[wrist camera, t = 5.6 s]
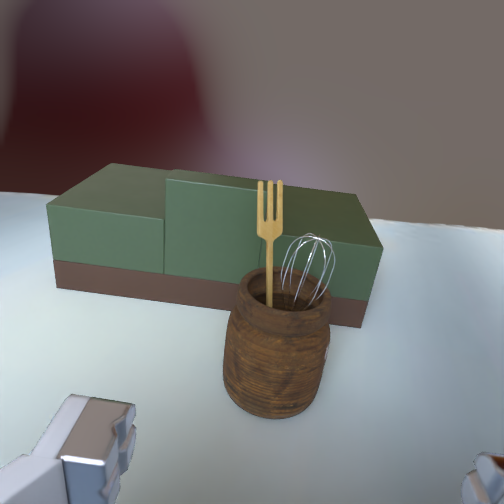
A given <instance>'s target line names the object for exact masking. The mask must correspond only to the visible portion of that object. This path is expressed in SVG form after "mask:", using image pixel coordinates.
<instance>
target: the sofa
mask: <svg viewBox="0 0 504 504" xmlns="http://www.w3.org/2000/svg"><path fill="white" fill-rule="evenodd" d="M258 181H262V182H263V218H264V221H266V220H267V186H268V181H264V180H257V179H249V178H241V177H233V176H225V175H217V174H210V173H201V172H194V171H186V170H178V169H174V170H173V171H169V170H160V169H153V168H145V167H137V166H130V165H122V164H113V163H111V164H110V165H108V166H106V167H105V168H103V169H101V170H100V171H98V172H97V173H95V174H94V175H92V176H90V177H89V178H87V179H86V180H84V181H82V182H81V183H79V184H78V185H76V186H75V187H73V188H71V189H70V190H68V191H67V192H65V193H63V194H62V195H60V196H58V197H57V198H55V199H54V200H52V201H51V202H49V203H47V204H46V207H47V215H48V223H49V230H50V238H51V246H52V254H53V259H54V260H53V263H54V271H55V279H56V286H57V288H63V289H70V290H78V291H85V292H93V293H100V294H108V295H115V296H123V297H130V298H138V299H145V300H153V301H160V302H168V303H175V304H183V305H191V306H198V307H206V308H213V309H221V310H228V311H232V309H233V308H234V306H235V305H236V294H237V290H238V287H239V284H240V282H241V280H242V278H243V277H244V276H245V275H246V274H247V273H249V272H250V271H252V270H255V269H258V268H262V267H266V240H264V239H263V238H261V237H259V236H258V235H257V190H258ZM276 210H277V184H273V220H274V221H275V220H276ZM308 233H312V234H314V235H315V236H317V237H318V236H319V235H320V238H326V239H328V240H329V241H330V243H331V245H332V250H333V252H334V255H335V265H334V255H333V252H332V253H331V248H330V247H331V245H330V243H329V241H327V240H325V239H322V240H323V241H325V242H326V243H328V244H329V245H330V247H329V246H328V245H327V244H326V243H325V242H323V241H321V240H320V241H321V243H322V245H323V247H324V251H325V258H326V264H325V258H324V251H323V248H322V245H321V243H320V242H318V240H317V239H314V238H313V237H315V236H314V235H312V234H308ZM306 234H308V235H306ZM304 235H306V236H313V237H304V238H303V239H302V238H300V237H303V236H304ZM297 238H300V239H298V240H296V239H297ZM301 239H302V241H301ZM311 239H314V240H311ZM295 240H296V241H295ZM308 240H311V241H308ZM316 240H317V242H318V245H317V242H316ZM293 241H295V242H294V243H293V244H292V242H293ZM300 241H301V243H300ZM306 241H308V242H306ZM305 242H306V243H305ZM315 242H316V244H315ZM299 243H300V245H299ZM303 243H305V244H303ZM291 244H292V245H291ZM302 244H303V245H302ZM314 244H315V247H314ZM290 245H291V247H290V249H289V246H290ZM298 245H299V246H301V245H302V246H301V247H300V248H299V249H298V251H297V254H296V252H295V251H296V250H297V248H298ZM316 245H317V248H316ZM313 247H314V249H313ZM315 248H316V250H315ZM288 249H289V251H288ZM312 249H313V252H312ZM287 251H288V254H287ZM314 251H315V253H314ZM294 252H295V254H296V257H295V254H294V255H293V253H294ZM311 252H312V254H311ZM382 252H383V246H382V244H381V242H380V240H379V238H378V236H377V235H376V233H375V231H374V229H373V227H372V225H371V223H370V221H369V219H368V217H367V215H366V213H365V211H364V209H363V208H362V206H361V204H360V202H359V200H358V198H357V196H356V194H349V193H341V192H333V191H324V190H318V189H310V188H302V187H294V186H286V185H283V232H282V234H281V235H280V236H279V237H277V238H276V239H275V240H274V242H273V266H279V267H282V266H283V263H284V260H285V257H286V254H287V257H286V260H285V263H284V266H283V267H288V264H289V261H290V259H291V257H292V255H293V257H292V259H291V262H290V264H289V267H288V268H292V264H293V260H294V257H295V260H294V264H293V269H297V270H301V271H304V270H305V267H306V265H307V262H308V259H309V257H310V254H311V257H310V259H309V262H308V265H307V268H306V270H305V272H306V273H307V270H308V268H309V270H308V273H309V274H311V275H313V276H314V277H316V278H318V279H319V280H320V279H321V277H322V274H323V270H324V264H325V268H326V266H327V268H326V271H325V273H324V275H323V278H322V280H321V281H322V282H323V283H324V284H325V285H327V283H328V280H329V277H330V275H331V272H332V269H333V265H334V269H333V272H332V275H331V277H330V280H329V283H328V285H327V288H328V289H329V291H330V293H331V314H330V317H329V320H328V323H329V324H333V325H341V326H348V327H356V328H361V325H362V321H363V318H364V315H365V311H366V308H367V304H368V300H369V297H370V293H371V290H372V286H373V283H374V279H375V276H376V273H377V269H378V266H379V262H380V259H381V255H382ZM313 253H314V256H313ZM330 253H331V257H330ZM312 256H313V259H312ZM329 257H330V260H329ZM311 259H312V262H311ZM328 260H329V263H328ZM310 262H311V265H310ZM327 263H328V265H327ZM309 265H310V267H309Z"/></svg>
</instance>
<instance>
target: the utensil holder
mask: <svg viewBox="0 0 504 504" xmlns="http://www.w3.org/2000/svg"><path fill="white" fill-rule="evenodd" d="M282 232H283V182H282V180H279V181H278V182H277V210H276V220H275V221H274V220H273V182H272V181H271V180H270V181H268V186H267V220H266V221H264V218H263V182H262V181H258V190H257V235H258V236H259V237H261V238H263V239H264V240H266V267H262V268H258V269H255V270H252V271H250V272H249V273H247V274H246V275H245V276H244V277H243V278H242V280H241V282H240V284H239V287H238V290H237V294H236V305H235V306H234V308H233V309H232V311H231V314H230V317H229V320H228V325H227V332H226V340H225V350H224V361H223V380H224V384H225V388H226V390H227V392H228V394H229V396H230V397H231V399H232V400H233V401H234V402H235V403H236V404H237V405H238V406H239V407H241V408H242V409H244V410H245V411H247V412H249V413H251V414H253V415H256V416H259V417H263V418H269V419H283V418H288V417H292V416H295V415H297V414H299V413H301V412H302V411H304V410H305V409H306V408H307V407H308V406H309V405H310V404H311V403H312V401H313V399H314V398H315V395H316V393H317V391H318V388H319V384H320V381H321V377H322V373H323V369H324V365H325V361H326V357H327V353H328V348H329V342H330V327H329V323H328V320H329V317H330V314H331V293H330V291H329V289H328V288H327V285H328V283H329V280H330V277H331V275H332V272H333V269H334V265H335V255H334V252H333V250H332V245H331V243H330V241H329V240H328V239H326V238H320V235H319V236H318V237H317V236H315V235H314V234H312V233H308V234H312V235H314V236H315V237H313V236H306V235H308V234H306V235H304V236H303V237H300V238H302V239H303V238H304V237H313V238H314V239H317V240H318V242H320V243H321V241H323V240H322V239H325V240H327V241H329V243H330V245H331V247H330V245H329V244H328V243H326V242H325V241H323V242H325V243H326V244H327V245H328V246H329V247H330V248H331V253H332V252H333V255H334V265H333V269H332V272H331V275H330V277H329V280H328V283H327V285H325V284H324V283H323V282H322V281H321V280H322V278H323V275H324V273H325V271H326V268H327V266H326V268H325V264H326V258H325V251H324V247H323V245H322V243H321V245H322V248H323V251H324V258H325V264H324V270H323V274H322V277H321V279H320V280H319V279H318V278H316V277H314V276H313V275H311V274H309V273H308V270H309V268H308V270H307V273H306V272H305V270H306V268H307V265H308V262H309V259H310V257H311V254H312V252H313V249H314V247H315V244H316V242H317V240H316V242H315V244H314V247H313V249H312V252H311V254H310V257H309V259H308V262H307V265H306V267H305V270H304V271H301V270H297V269H293V264H294V260H295V257H296V254H297V251H298V249H299V248H300V247H301V246H302V245H303V244H305V243H306V242H308V241H311V240H314V239H311V240H308V241H306V242H305V243H303V244H302V245H301V246H299V245H300V243H301V241H302V239H301V241H300V243H299V245H298V248H297V250H296V251H295V252H296V254H295V252H294V253H293V255H294V254H295V257H294V260H293V264H292V268H288V267H289V264H290V262H291V259H292V257H293V255H292V257H291V259H290V261H289V264H288V267H283V266H284V263H285V260H286V257H287V254H288V251H289V249H290V247H291V245H292V244H293V243H294V242H295V241H296V240H298V239H300V238H297V239H296V240H295V241H293V242H292V244H291V245H290V246H289V249H288V251H287V254H286V257H285V260H284V263H283V266H282V267H279V266H273V242H274V240H275V239H276V238H277V237H279V236H280V235H281V234H282ZM320 240H321V241H320ZM318 242H317V245H318ZM317 245H316V248H317ZM316 248H315V250H316ZM314 253H315V251H314ZM314 253H313V256H314ZM331 253H330V257H331ZM313 256H312V259H313ZM330 257H329V260H330ZM312 259H311V262H312ZM329 260H328V263H329ZM311 262H310V265H311ZM328 263H327V265H328ZM310 265H309V267H310Z"/></svg>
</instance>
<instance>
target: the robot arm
mask: <svg viewBox="0 0 504 504" xmlns="http://www.w3.org/2000/svg"><path fill="white" fill-rule="evenodd" d="M135 416H136V408H135V404H132V403H126V402H120V401H114V400H108V399H102V398H96V397H89V396H83V395H76V394H71V395H70V396H68V397H67V398H66V399H65V400H64V402H63V403H62V405H61V407H60V408H59V410H58V411H57V413H56V414H55V416H54V417H53V419H52V421H51V422H50V424H49V425H48V427H47V428H46V430H45V432H44V433H43V435H42V436H41V438H40V439H39V441H38V442H37V444H36V446H35V447H34V449H33V450H32V452H31V453H30V455H25V454H22V455H21V456H19V457H18V458H16V459H15V460H13V461H12V462H10V463H8V464H7V465H5V466H4V467H2V468H1V469H0V504H115V502H116V499H117V496H118V494H119V491H120V476H121V475H122V474H123V473H124V472H126V471H127V470H128V467H129V464H130V462H131V459H132V455H133V451H134V447H135V442H136V427H135V426H134V425H133V421H134V418H135ZM473 463H474V465H475V467H476V469H474V470H473V471H471V472H469V473H467V474H466V475H465V477H464V479H463V482H462V485H461V498H462V503H463V504H504V454H497V453H489V452H481V453H479V454H477V455H476V457H475V459H474V461H473Z"/></svg>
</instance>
